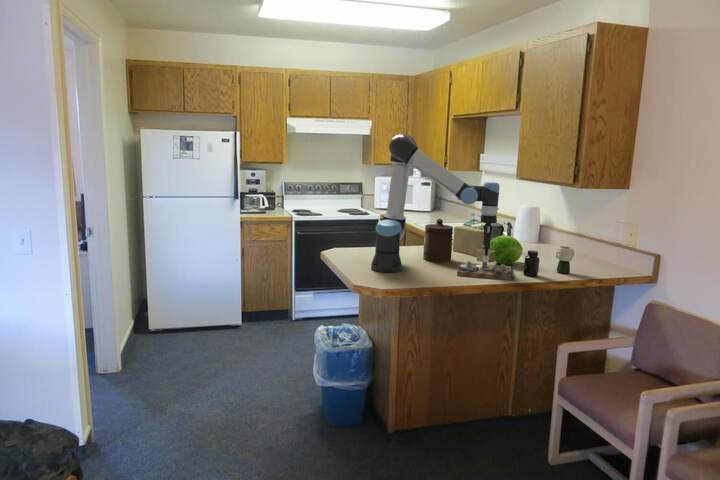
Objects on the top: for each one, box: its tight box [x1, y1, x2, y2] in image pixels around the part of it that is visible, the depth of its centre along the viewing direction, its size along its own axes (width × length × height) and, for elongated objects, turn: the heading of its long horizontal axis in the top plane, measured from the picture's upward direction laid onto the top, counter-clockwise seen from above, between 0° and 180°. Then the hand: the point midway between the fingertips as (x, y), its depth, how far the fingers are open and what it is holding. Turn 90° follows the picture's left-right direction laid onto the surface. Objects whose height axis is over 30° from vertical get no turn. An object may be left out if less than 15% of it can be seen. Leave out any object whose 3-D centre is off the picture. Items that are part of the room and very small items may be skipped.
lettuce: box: [490, 234, 524, 265], centre depth 271 cm, size 17×20×15 cm
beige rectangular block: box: [452, 225, 484, 258], centre depth 291 cm, size 22×10×15 cm, turn 29°
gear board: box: [456, 260, 515, 281], centre depth 250 cm, size 26×20×6 cm
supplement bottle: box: [522, 249, 540, 278], centre depth 248 cm, size 7×7×12 cm
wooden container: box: [422, 218, 454, 263], centre depth 273 cm, size 15×15×22 cm
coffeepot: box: [490, 220, 505, 241], centre depth 305 cm, size 15×9×18 cm, turn 19°
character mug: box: [555, 245, 575, 274], centre depth 256 cm, size 11×7×13 cm, turn 109°
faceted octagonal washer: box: [476, 249, 495, 264], centre depth 252 cm, size 8×8×5 cm
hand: (485, 260), depth 252 cm, fingers closed on faceted octagonal washer, 8 cm apart
